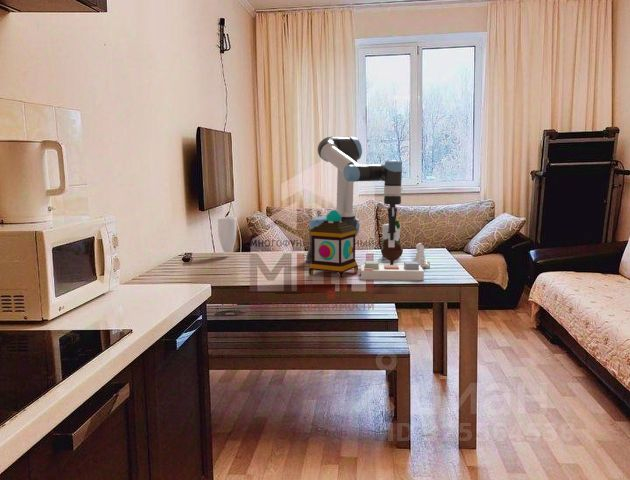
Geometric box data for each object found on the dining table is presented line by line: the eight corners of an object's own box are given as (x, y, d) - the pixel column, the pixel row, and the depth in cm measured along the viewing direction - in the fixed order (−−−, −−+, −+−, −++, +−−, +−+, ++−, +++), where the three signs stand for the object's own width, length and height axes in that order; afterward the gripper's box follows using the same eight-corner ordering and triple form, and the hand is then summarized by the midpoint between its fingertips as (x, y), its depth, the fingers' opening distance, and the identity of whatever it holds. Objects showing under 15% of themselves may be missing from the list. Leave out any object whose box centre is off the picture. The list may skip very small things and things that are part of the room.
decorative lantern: (343, 279, 253) (343, 212, 249) (304, 275, 262) (304, 210, 258) (361, 272, 270) (362, 209, 266) (325, 268, 280) (325, 207, 276)
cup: (241, 256, 316) (240, 217, 313) (228, 258, 307) (227, 219, 304) (227, 254, 322) (226, 216, 319) (214, 257, 313) (213, 218, 310)
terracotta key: (385, 277, 257) (385, 267, 256) (384, 274, 263) (384, 264, 262) (398, 277, 257) (398, 267, 256) (397, 274, 262) (397, 264, 262)
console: (361, 279, 254) (361, 269, 253) (360, 273, 267) (360, 263, 267) (423, 279, 252) (423, 269, 251) (419, 273, 266) (420, 264, 265)
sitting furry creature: (429, 268, 278) (430, 244, 276) (412, 268, 280) (412, 244, 278) (429, 265, 287) (430, 241, 285) (412, 264, 289) (413, 241, 287)
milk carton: (394, 258, 306) (395, 221, 303) (379, 257, 311) (380, 220, 308) (402, 256, 313) (402, 220, 310) (387, 254, 318) (388, 219, 315)
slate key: (405, 273, 256) (405, 263, 255) (404, 271, 262) (404, 261, 261) (418, 273, 256) (418, 263, 255) (417, 271, 262) (417, 261, 261)
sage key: (365, 273, 257) (365, 263, 257) (364, 270, 263) (364, 261, 263) (378, 273, 257) (378, 263, 256) (377, 270, 263) (378, 261, 262)
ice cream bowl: (389, 271, 271) (389, 240, 269) (376, 267, 281) (376, 237, 279) (407, 269, 276) (407, 238, 274) (393, 265, 286) (394, 236, 284)
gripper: (402, 196, 248) (400, 249, 251) (399, 194, 261) (398, 244, 264) (385, 196, 248) (383, 249, 252) (383, 194, 261) (382, 244, 265)
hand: (391, 247), depth 258 cm, fingers closed
